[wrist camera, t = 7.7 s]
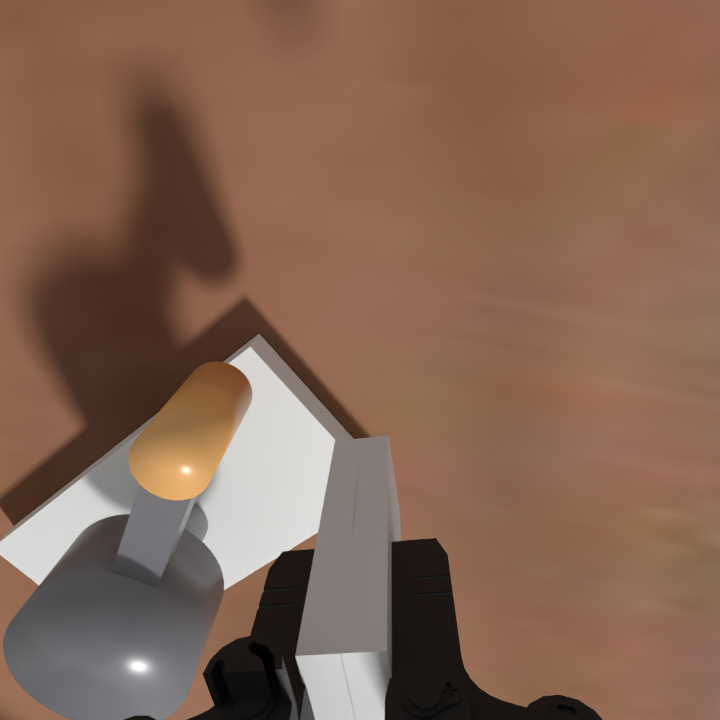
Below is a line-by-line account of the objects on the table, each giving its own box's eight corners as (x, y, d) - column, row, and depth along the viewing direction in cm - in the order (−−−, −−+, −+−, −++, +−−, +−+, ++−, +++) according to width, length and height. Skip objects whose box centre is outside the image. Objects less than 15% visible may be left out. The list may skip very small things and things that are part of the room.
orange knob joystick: (205, 631, 30) (162, 748, 24) (69, 583, 29) (-10, 693, 23) (312, 398, 24) (288, 479, 18) (144, 329, 23) (63, 391, 17)
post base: (136, 626, 37) (93, 711, 32) (13, 526, 34) (-59, 600, 29) (382, 471, 31) (382, 542, 26) (259, 333, 28) (228, 379, 23)
